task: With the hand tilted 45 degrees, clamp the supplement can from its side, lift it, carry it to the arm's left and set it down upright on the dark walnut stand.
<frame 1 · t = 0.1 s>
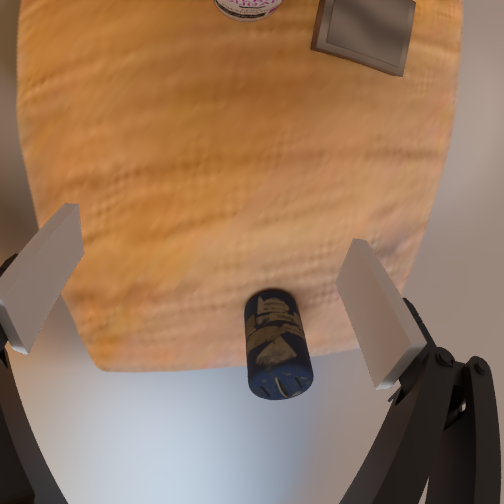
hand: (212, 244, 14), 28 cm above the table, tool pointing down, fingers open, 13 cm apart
canister: (270, 306, 54), on the table
stand: (361, 23, 29), on the table
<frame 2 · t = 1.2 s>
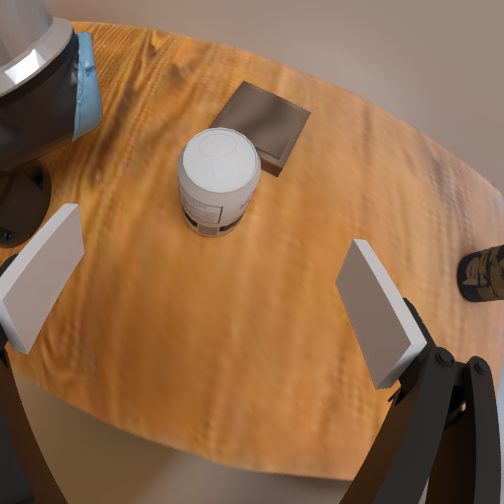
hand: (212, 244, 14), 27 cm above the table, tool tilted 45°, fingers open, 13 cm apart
supplement can: (212, 209, 42), on the table
canister: (469, 278, 48), on the table
stand: (258, 130, 45), on the table
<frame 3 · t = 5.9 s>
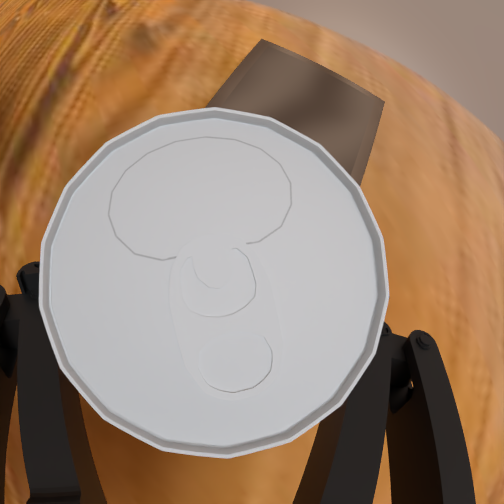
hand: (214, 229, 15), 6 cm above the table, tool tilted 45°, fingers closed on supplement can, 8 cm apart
supplement can: (204, 301, 20), on the table, touching gripper
stand: (291, 129, 23), on the table
when the fingers open (10 cm above the table, at t = 11.2 s): supplement can drops 1 cm, resting on stand.
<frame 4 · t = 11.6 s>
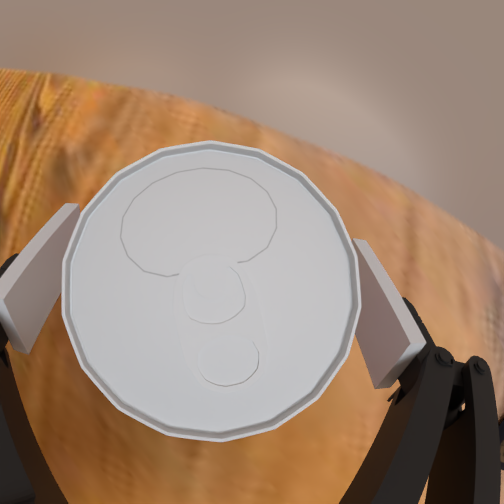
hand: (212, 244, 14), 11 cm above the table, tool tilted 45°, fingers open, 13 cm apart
supplement can: (203, 303, 21), point 3 cm above the table, touching stand
canister: (501, 437, 27), on the table
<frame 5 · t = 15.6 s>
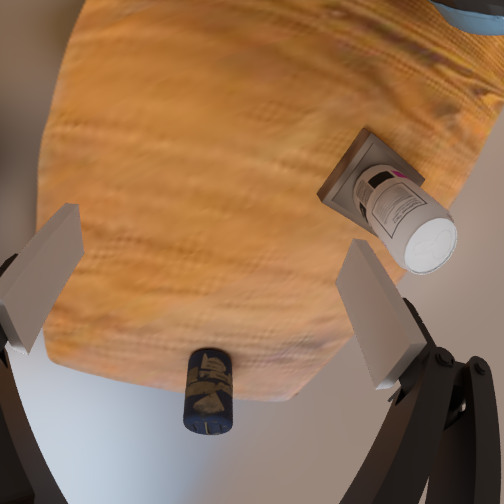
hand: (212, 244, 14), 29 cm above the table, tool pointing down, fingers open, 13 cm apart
supplement can: (377, 189, 40), point 3 cm above the table, touching stand
canister: (210, 358, 64), on the table
stand: (369, 181, 43), on the table
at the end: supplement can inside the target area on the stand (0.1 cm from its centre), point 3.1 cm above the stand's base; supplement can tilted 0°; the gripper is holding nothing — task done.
